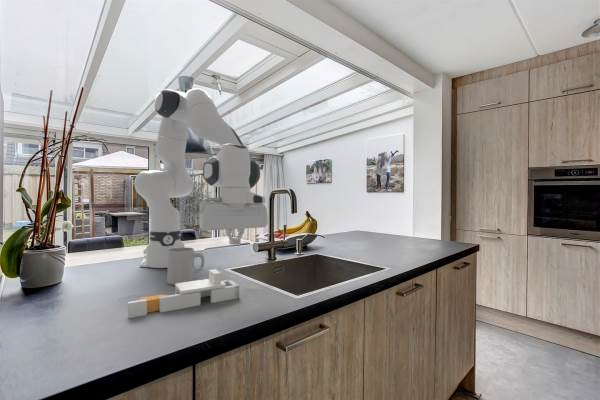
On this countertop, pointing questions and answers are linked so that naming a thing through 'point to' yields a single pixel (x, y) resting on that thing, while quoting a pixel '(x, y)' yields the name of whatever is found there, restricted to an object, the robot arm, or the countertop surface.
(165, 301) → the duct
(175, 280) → the mug
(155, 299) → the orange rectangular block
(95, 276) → the countertop surface
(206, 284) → the cover
